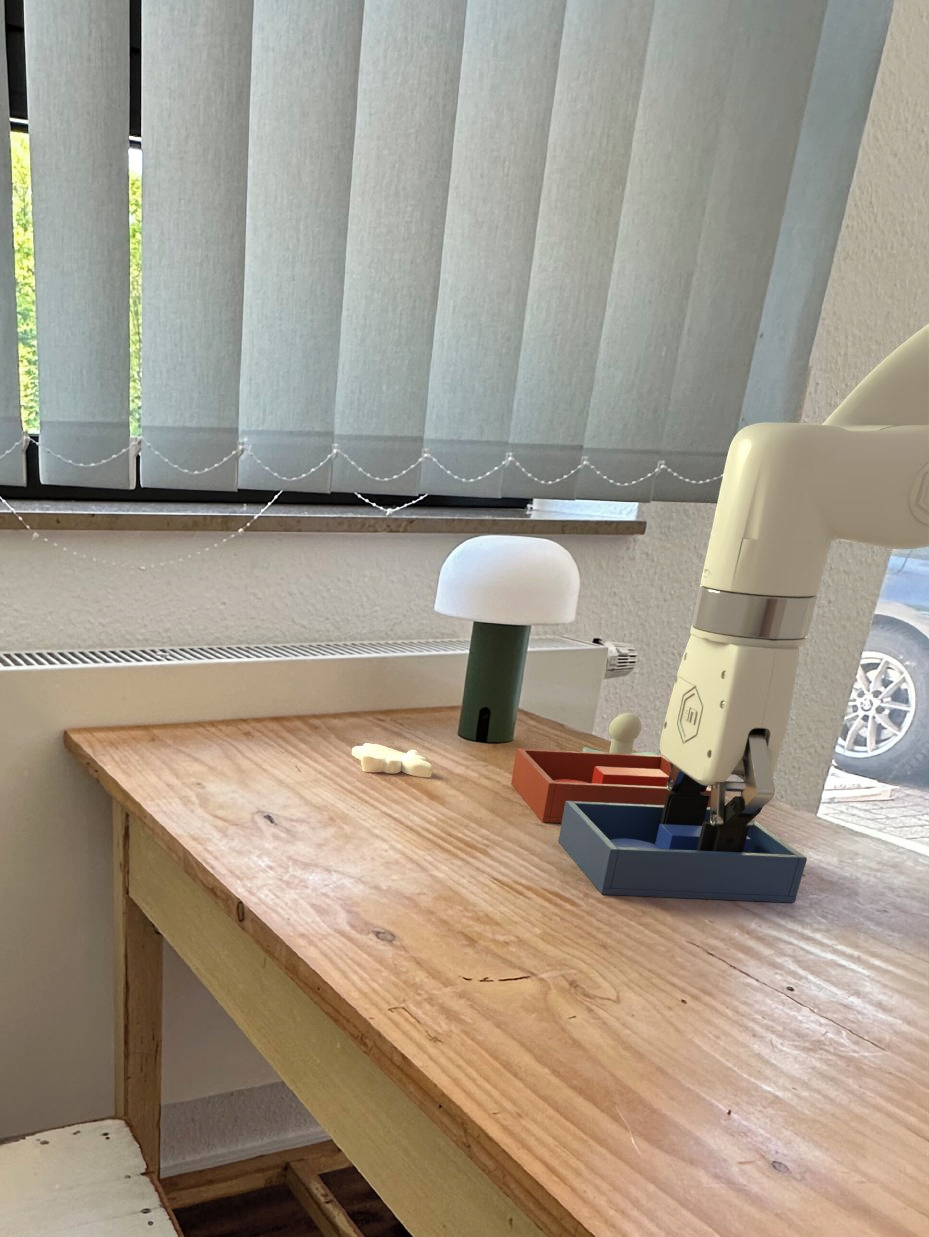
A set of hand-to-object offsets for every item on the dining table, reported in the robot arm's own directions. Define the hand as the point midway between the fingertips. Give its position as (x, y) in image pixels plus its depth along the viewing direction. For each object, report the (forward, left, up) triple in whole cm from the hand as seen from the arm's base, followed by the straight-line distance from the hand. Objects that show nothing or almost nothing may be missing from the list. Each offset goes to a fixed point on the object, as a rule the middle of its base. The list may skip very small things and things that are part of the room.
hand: (695, 855), depth 82 cm
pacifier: (-3, -28, -2) cm, 28 cm away
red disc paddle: (+2, -16, -1) cm, 16 cm away
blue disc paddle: (+2, 0, -1) cm, 2 cm away
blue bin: (+2, 0, -1) cm, 2 cm away
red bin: (+2, -16, -1) cm, 16 cm away
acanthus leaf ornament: (+20, -26, -2) cm, 33 cm away
